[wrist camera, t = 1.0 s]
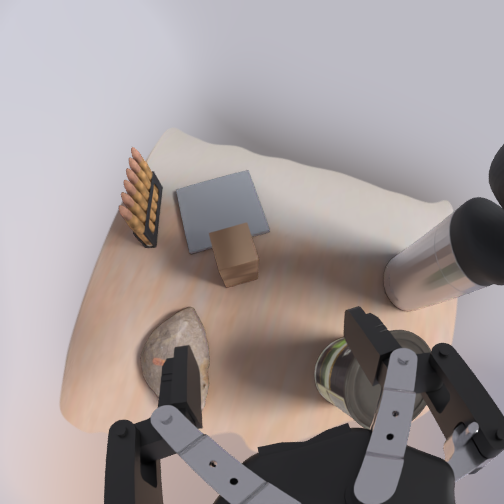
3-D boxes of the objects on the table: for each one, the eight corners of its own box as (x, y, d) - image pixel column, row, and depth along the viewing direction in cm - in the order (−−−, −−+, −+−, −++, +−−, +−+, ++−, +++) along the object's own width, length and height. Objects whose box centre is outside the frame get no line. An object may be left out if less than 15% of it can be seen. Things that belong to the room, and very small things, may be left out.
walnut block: (248, 249, 41) (247, 222, 32) (257, 279, 40) (258, 258, 31) (218, 258, 41) (208, 233, 32) (226, 287, 39) (218, 270, 30)
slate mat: (248, 172, 45) (248, 170, 44) (269, 232, 42) (269, 229, 41) (177, 192, 44) (176, 189, 43) (190, 254, 41) (189, 252, 40)
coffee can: (306, 347, 37) (335, 347, 23) (373, 328, 37) (426, 316, 24) (320, 415, 33) (353, 447, 20) (386, 393, 34) (441, 407, 21)
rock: (218, 311, 39) (155, 306, 41) (210, 303, 35) (142, 298, 37) (208, 418, 33) (143, 404, 34) (198, 422, 29) (128, 406, 30)
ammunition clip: (152, 187, 45) (127, 143, 33) (162, 186, 45) (139, 141, 33) (145, 248, 41) (111, 214, 30) (156, 247, 41) (125, 212, 30)
